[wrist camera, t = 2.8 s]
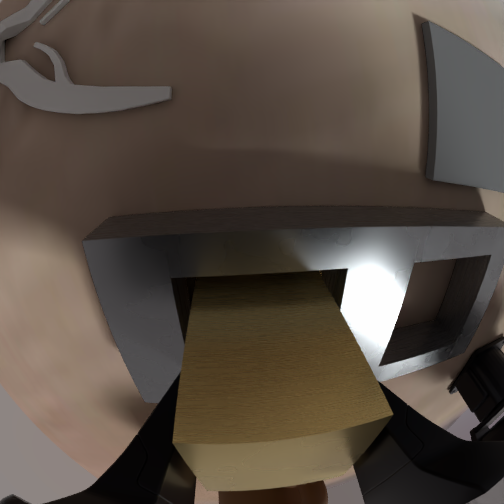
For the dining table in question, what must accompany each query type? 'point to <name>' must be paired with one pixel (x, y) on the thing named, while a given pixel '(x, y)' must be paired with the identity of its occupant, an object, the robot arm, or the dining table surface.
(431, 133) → the pad
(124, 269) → the grey flat frame
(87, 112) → the pliers
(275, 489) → the mug
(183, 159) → the dining table surface
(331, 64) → the dining table surface
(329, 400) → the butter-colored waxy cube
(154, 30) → the dining table surface
